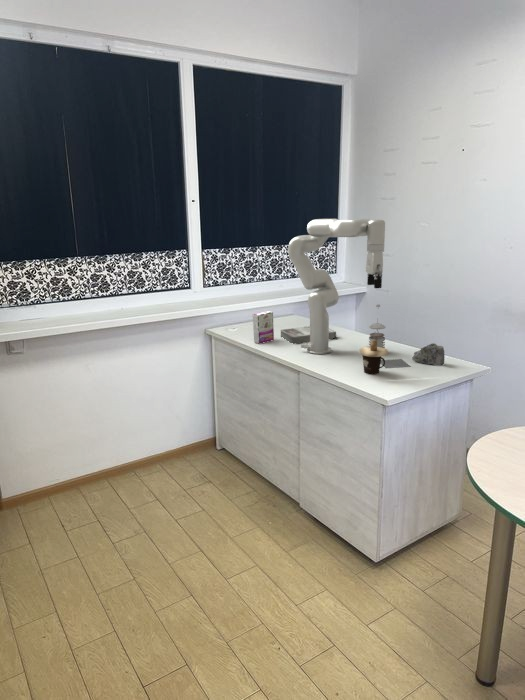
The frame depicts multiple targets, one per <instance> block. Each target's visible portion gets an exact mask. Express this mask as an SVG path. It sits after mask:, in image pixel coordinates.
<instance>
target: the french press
mask: <svg viewBox="0 0 525 700" xmlns="http://www.w3.org/2000/svg"><path fill="white" fill-rule="evenodd" d="M375 306H376V308H380V307H381V305H380V304H378V303H377V304H376V305H375ZM376 320H377V322H376V323H372V324H370V325H369V326H368V327H369V328H370V329H371V330H376V332H371V333H369V337H368V347H371V340H373V339H375V340H377V347H382V348H385V349H386V347H385V346H386V344H385V343H386V337H385V334H384V333H382V332H379V331H378V330H383V329H386V325H384V324H382V323H379V319H376Z"/></svg>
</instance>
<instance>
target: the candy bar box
mask: <svg viewBox="0 0 525 700" xmlns="http://www.w3.org/2000/svg"><path fill="white" fill-rule="evenodd" d="M252 326H253V343H254V342H256V343H255V344H257V343H262V344H264V343H263V342H265V343H268V342H267V341H269V342H272V341H271V340H273V341H274V340H275V335H274V334H275V333H274V331H275V330H274V312H273V311H270V310H267V311H262V312H257V313H256V312H255V313H253V314H252Z"/></svg>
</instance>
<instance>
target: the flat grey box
mask: <svg viewBox="0 0 525 700" xmlns="http://www.w3.org/2000/svg"><path fill="white" fill-rule="evenodd" d="M282 337H283V338H284V340H285V339H286V340H285V341H286V342H288V341H289V342H288V343H293V344H292V345H296V344H295V343H298V344H304V343H303V342H306V343H309V342H310V325H309V326H303V327H294V328H284V329H280V338H282ZM283 338H282V339H283ZM333 338H338V337H337V331H336V330H334V329H332V328H330V327H329V339H330V340H334V339H333Z"/></svg>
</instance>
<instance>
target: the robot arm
mask: <svg viewBox="0 0 525 700" xmlns="http://www.w3.org/2000/svg"><path fill="white" fill-rule="evenodd" d="M306 226H307V227H306V230H307V231H306V232H307V234H303V235H297V236H295V237H293V238H292V239H291V240H290V241H289V243H288V246H287V253H288V256H289V259H290V261H291V263H292V264H293V266H294V267H295V270H296V273H297V275H298V276H299V279H300V281H301V283H302V285H303V287H304V288H305V289H306V290H307V291H308V290H309V291H310V290H311V291H312V290H314V291H312V292H310V294H309V295H308V298H307V305H308V309H309V310H308V311H309V326H310V342H306V343H300V348H301V349H306V352H307V353H310V354H313V355H326V354H329V353H331V352H332V348H331V347H330V345H329V328H330V325H329V323H330V322H329V321H330V319H329V318H330V317H329V312H328V309H327V308H330V307H334V306H336V305H337V304H338V303H339V297H340V296H339V292H338V290H337V288H336V286H335V284H334V282H333V280H332V277H331V276H330V275H331V274H329V272H327V271H326V270H325V269H323V268H319V269H318V268H317V269H316V268H315V267H314V265H313V262H312V261H311V259H310V257H308V256H307V255H306V254H305V253H313V252H316V251H319V249H320V248H321V247H322V246H323V245H324V244H325V243H326V242H327V240H328V239H329V238H357V237H358V238H359V237H367V238H366V252H367V253H366V254H367V255H366V261H365V262H366V264H365V266H366V267H365V268H366V269H365V272H366V273H367V283H366V285H367V286H373V288H374V289H381V288H382V287H383V285H382V282H383V271H384V255H383V254H384V253H383V252H385V237H386V221H385V220H384V219H370V218H369V219H368V218H357V219H341V220H340V219H338V218H317V219H316V218H315V219H312V220H310V221H309V222H308V223H307V225H306ZM317 289H318V290H317Z"/></svg>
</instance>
